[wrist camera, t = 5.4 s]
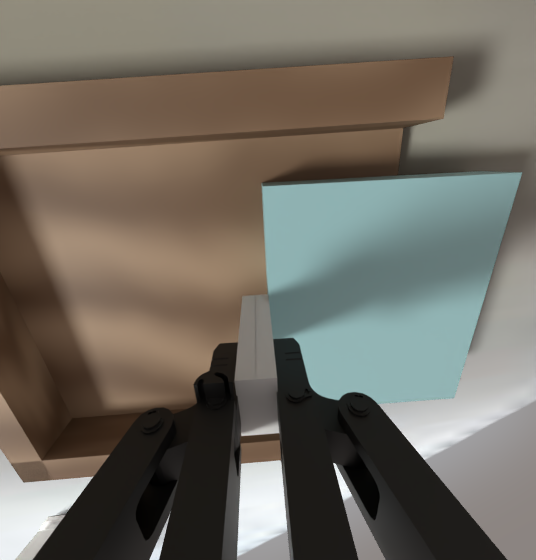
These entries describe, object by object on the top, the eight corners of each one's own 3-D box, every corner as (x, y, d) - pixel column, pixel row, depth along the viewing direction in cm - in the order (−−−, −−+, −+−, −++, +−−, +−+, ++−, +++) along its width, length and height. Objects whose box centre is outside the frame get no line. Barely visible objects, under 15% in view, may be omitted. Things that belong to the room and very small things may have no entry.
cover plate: (261, 182, 14) (262, 186, 12) (480, 171, 15) (522, 172, 12) (272, 383, 20) (274, 411, 18) (431, 371, 20) (454, 398, 18)
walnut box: (-101, 118, 13) (-236, 101, 10) (400, 85, 14) (453, 56, 10) (62, 429, 22) (23, 482, 18) (366, 403, 22) (387, 450, 19)
